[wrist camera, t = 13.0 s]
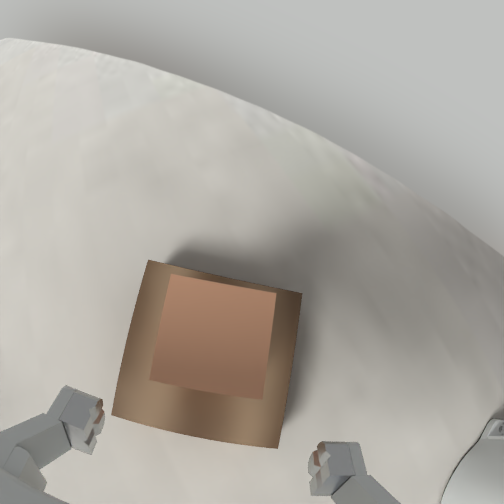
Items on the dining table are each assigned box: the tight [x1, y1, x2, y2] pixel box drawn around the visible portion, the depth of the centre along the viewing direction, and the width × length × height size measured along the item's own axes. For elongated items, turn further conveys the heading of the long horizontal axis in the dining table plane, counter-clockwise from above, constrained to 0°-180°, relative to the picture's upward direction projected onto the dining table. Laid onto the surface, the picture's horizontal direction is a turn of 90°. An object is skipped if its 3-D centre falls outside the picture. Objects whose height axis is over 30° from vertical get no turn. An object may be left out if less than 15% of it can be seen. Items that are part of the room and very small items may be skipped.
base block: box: [111, 260, 302, 449], centre depth 23 cm, size 12×12×4 cm
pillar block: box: [149, 274, 276, 400], centre depth 17 cm, size 4×4×10 cm
